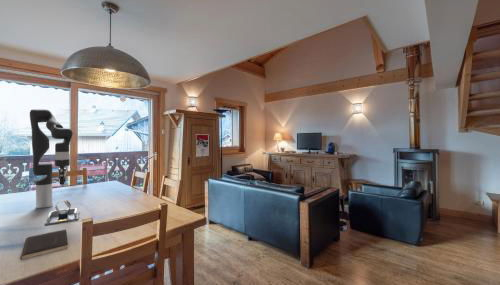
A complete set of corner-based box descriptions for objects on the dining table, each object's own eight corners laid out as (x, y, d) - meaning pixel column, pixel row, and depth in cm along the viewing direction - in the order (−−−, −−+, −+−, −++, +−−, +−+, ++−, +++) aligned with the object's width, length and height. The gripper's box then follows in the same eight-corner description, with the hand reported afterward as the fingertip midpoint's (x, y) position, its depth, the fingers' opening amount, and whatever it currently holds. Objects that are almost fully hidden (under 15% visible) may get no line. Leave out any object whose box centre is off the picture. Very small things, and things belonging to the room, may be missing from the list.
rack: (49, 216, 149) (48, 210, 148) (79, 212, 158) (79, 206, 158) (44, 225, 134) (44, 219, 134) (78, 220, 143) (78, 213, 143)
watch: (71, 217, 146) (70, 200, 146) (54, 219, 141) (54, 202, 141) (71, 214, 150) (71, 198, 150) (56, 216, 146) (55, 200, 145)
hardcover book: (66, 233, 125) (66, 229, 125) (67, 248, 108) (67, 244, 108) (25, 241, 114) (25, 237, 114) (20, 260, 97) (20, 255, 97)
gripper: (56, 158, 149) (56, 182, 149) (53, 160, 137) (53, 186, 138) (70, 157, 153) (70, 180, 153) (69, 159, 142) (69, 184, 142)
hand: (62, 183), depth 145 cm, fingers open, 8 cm apart
